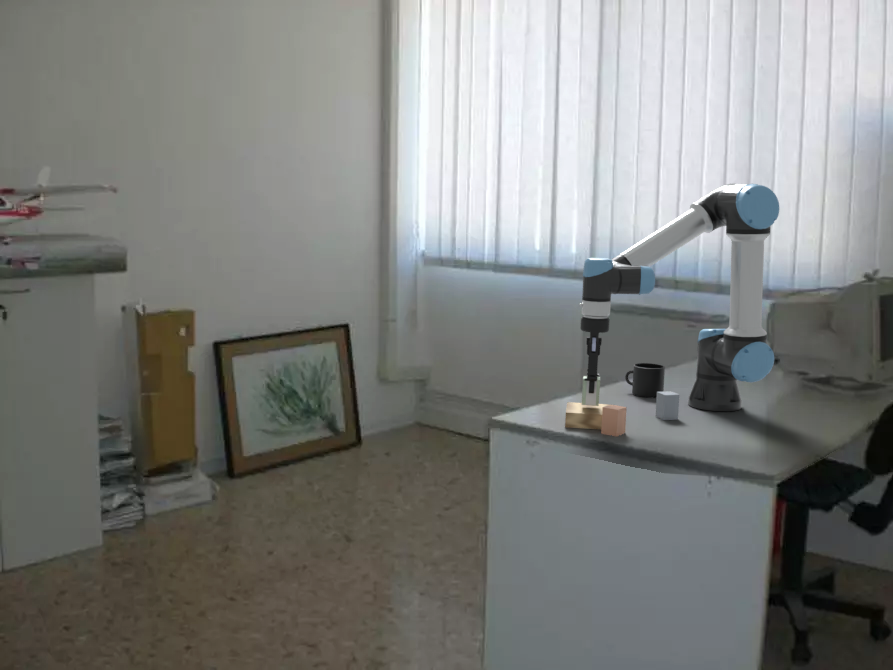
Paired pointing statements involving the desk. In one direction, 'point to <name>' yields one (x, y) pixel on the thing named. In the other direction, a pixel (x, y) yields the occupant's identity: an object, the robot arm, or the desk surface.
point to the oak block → (584, 416)
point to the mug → (647, 379)
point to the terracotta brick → (613, 420)
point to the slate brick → (667, 405)
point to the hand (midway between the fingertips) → (590, 402)
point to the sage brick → (585, 391)
